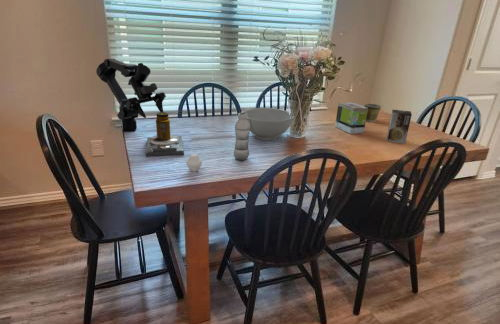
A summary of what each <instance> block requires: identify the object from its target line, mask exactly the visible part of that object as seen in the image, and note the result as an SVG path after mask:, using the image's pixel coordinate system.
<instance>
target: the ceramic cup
mask: <svg viewBox="0 0 500 324" xmlns="http://www.w3.org/2000/svg"><path fill="white" fill-rule="evenodd" d="M363 106H365V107H368V112H367V118H366V122H368V123H374V122H376V121H377V118H378V116H379V114H380V111H381V108H382V106H381V105H380V104H375V103H364V105H363Z"/></svg>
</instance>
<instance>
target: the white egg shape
mask: <svg viewBox="0 0 500 324" xmlns="http://www.w3.org/2000/svg"><path fill="white" fill-rule="evenodd" d="M185 163H186V165H187V166H186V167H187V168H188V170H189V171H190V172H191V171H193V172H192V173H197V172H198V171H199V170H200V169H201V166H202V165H203V160H202V159H201V158H200V156H199V155H198V154H197V153H192V154H190V155H189V157H188V159H187V160H186V162H185ZM196 171H197V172H196Z"/></svg>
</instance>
